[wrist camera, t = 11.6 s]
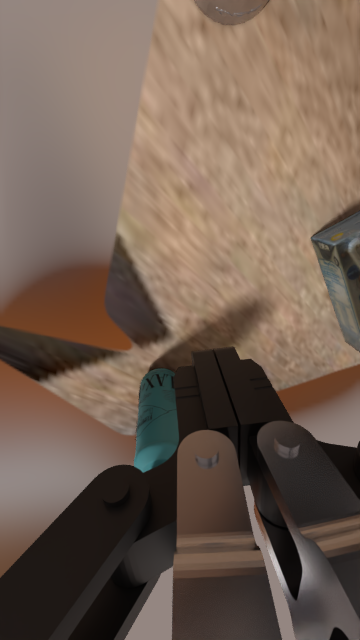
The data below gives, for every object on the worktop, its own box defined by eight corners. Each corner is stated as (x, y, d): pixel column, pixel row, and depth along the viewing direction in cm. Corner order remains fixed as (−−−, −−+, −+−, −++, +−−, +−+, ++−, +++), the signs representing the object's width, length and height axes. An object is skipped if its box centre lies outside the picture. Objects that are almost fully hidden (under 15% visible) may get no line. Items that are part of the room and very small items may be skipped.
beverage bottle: (186, 368, 45) (207, 489, 27) (171, 398, 48) (180, 528, 30) (148, 356, 44) (142, 476, 26) (133, 388, 46) (120, 518, 28)
